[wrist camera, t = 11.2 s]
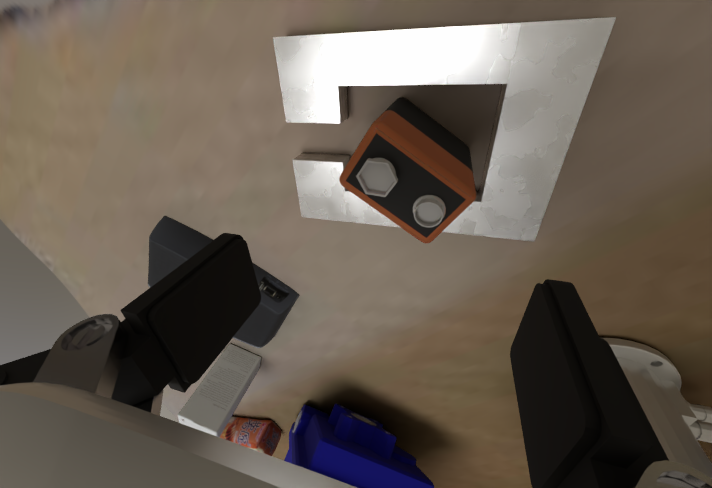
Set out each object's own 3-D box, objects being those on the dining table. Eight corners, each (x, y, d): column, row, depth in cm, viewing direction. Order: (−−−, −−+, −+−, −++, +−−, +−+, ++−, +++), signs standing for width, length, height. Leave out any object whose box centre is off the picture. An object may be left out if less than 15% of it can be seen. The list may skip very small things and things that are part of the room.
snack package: (271, 415, 62) (254, 451, 56) (286, 432, 65) (271, 467, 59) (204, 409, 71) (183, 439, 65) (220, 424, 74) (201, 454, 68)
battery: (401, 93, 22) (370, 121, 14) (472, 147, 22) (482, 205, 14) (369, 142, 24) (328, 190, 16) (434, 189, 25) (425, 257, 17)
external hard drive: (274, 336, 45) (260, 359, 42) (162, 272, 44) (138, 290, 40) (303, 289, 37) (289, 312, 34) (167, 208, 36) (139, 225, 33)
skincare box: (229, 355, 51) (178, 425, 42) (230, 342, 49) (176, 414, 39) (260, 369, 51) (216, 443, 42) (263, 357, 49) (216, 433, 39)
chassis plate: (600, 19, 17) (616, 17, 15) (529, 228, 25) (534, 241, 23) (286, 37, 22) (272, 37, 20) (309, 207, 29) (301, 216, 28)
